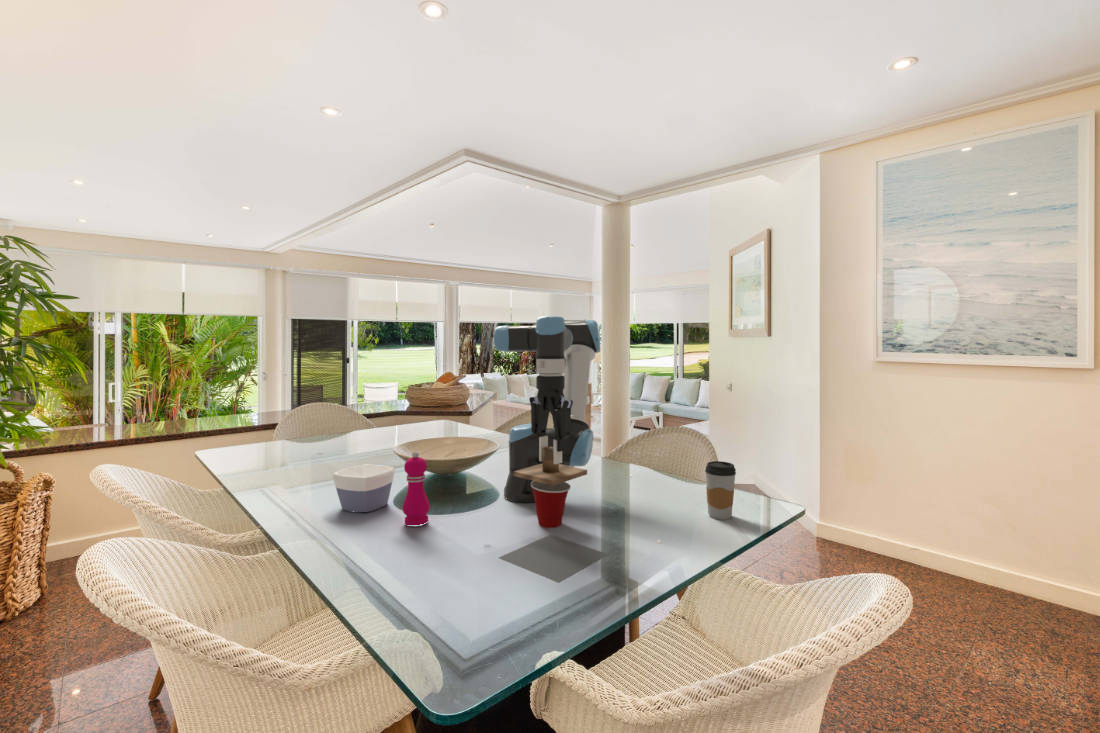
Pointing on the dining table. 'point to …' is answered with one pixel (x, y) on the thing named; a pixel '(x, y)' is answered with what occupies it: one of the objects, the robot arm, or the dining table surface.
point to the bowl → (364, 487)
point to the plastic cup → (550, 502)
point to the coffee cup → (720, 489)
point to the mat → (554, 557)
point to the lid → (550, 470)
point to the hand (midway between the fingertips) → (550, 461)
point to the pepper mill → (416, 491)
